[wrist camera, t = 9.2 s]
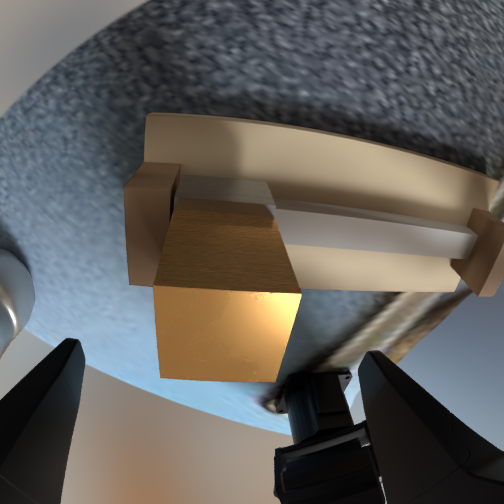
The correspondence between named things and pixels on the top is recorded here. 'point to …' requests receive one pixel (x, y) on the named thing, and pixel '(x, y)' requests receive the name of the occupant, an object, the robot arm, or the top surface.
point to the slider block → (223, 284)
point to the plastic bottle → (14, 298)
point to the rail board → (327, 204)
